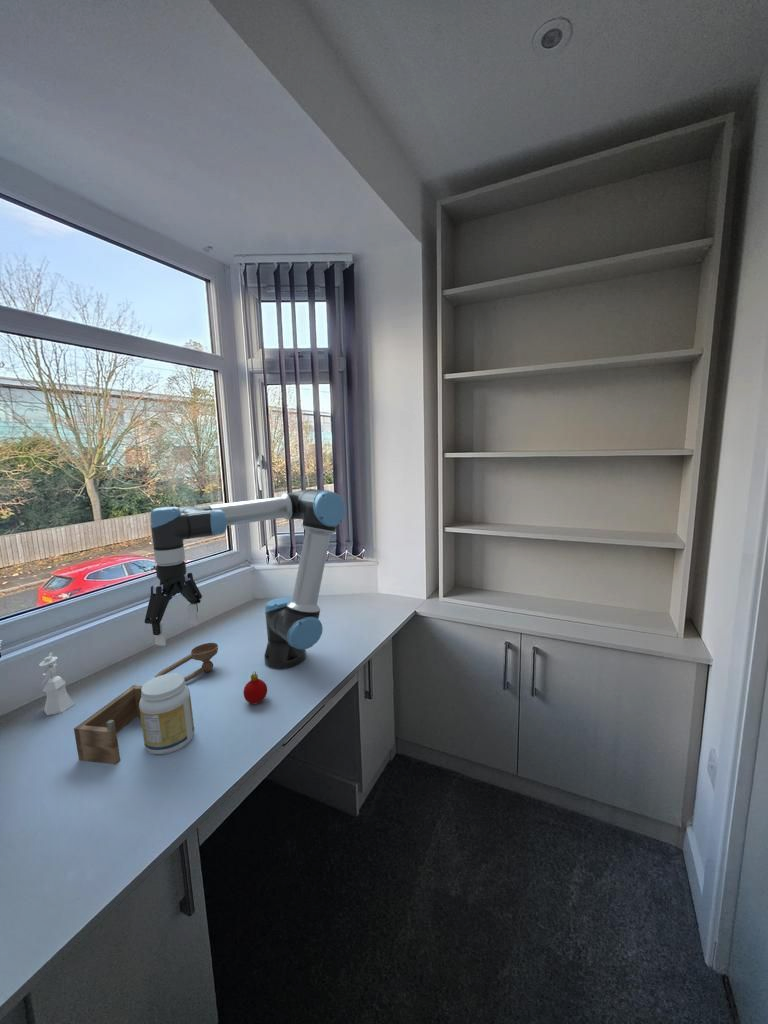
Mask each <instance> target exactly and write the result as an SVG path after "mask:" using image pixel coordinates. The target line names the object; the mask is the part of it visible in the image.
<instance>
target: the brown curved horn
mask: <svg viewBox="0 0 768 1024" xmlns="http://www.w3.org/2000/svg"><path fill="white" fill-rule="evenodd" d="M218 651H219V646H218V643H216V642H207V643H202V644H200V645H198V646H195V647H194V648H192V649H191V651H190V654H188V655H186V656H185V657H183V658H181V659H180V660H178V661H176V662H174V663H173V664H171V665H169V666H168V667H166V668H164V669H162V670H161V671H160V672H158V673H157V674H156V675H155V676H154V678H155V677H158V676H161V675H165V674H168V673H169V672H170V671H172V670H174V669H176V668H177V667H179V666H180V665H182V664H184V663H186V662H188V661H189V660H191V659H193V660H195V661H201V662H203V663H202V664H201V667H200V668H198V669H197V670H195V671H194V672H192V673H191V674H189V675H187V676H183V677H184V679H185V682H186V683H187V682H189V681H191V680H192V679H195V678H196V677H197V676H200V674H202V673H203V672H204V673H209V672H211V671H213V668H214V663H213V661H212V658H214V656H215V655H217V653H218Z"/></svg>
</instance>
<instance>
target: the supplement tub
mask: <svg viewBox="0 0 768 1024" xmlns="http://www.w3.org/2000/svg"><path fill="white" fill-rule="evenodd" d="M184 677H185V676H184V675H183V674H180V673H165V674H164V675H161V676H158V677H155V676H154V677H153V678H151V679H149V680H147V682H145V683H144V684H143V685H142V686H143V687H142V689H141V692H142V693H141V697H142V698H141V699H140V702H139V708H140V715H141V716H140V721H141V727H142V735H143V742H144V747H145V749H146V751H147V752H148V753H150V754H153V755H164V754H165V755H167V754H171V753H174V752H175V751H178V750H180V749H181V748H184V747H185V746H186V745H187V744H188V743H189V742H190V741H191V740H192V739H193V737H194V733H195V726H194V725H195V723H194V716H193V715H194V714H193V708H192V699H191V691H190V688H189V686H188V685H187V684H186V683H187V682H185V679H184Z"/></svg>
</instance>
